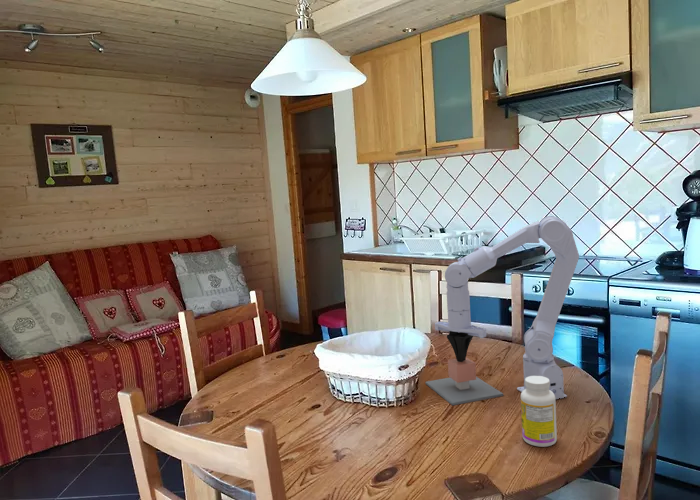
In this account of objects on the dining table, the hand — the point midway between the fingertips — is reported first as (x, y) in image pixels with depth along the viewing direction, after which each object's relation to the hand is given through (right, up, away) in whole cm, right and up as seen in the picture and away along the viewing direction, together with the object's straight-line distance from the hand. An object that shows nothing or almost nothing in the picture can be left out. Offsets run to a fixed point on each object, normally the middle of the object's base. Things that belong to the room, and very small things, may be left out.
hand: (461, 360), depth 134 cm
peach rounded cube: (0, -5, 0) cm, 5 cm away
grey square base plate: (+1, -8, +1) cm, 8 cm away
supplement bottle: (+10, -10, -29) cm, 32 cm away
